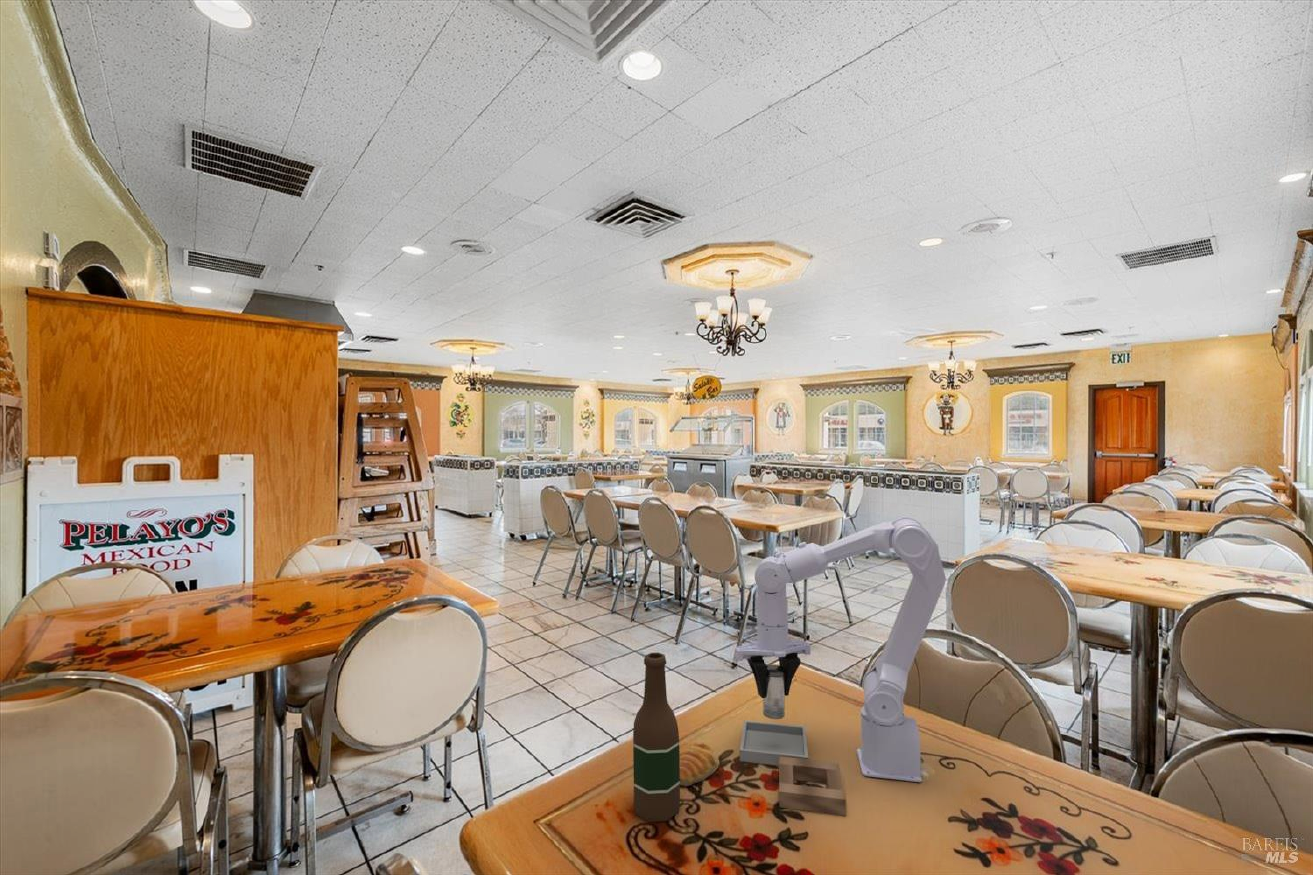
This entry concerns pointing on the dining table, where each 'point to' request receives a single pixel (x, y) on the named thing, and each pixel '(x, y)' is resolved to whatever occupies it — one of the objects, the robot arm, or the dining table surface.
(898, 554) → the robot arm
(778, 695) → the steel pin
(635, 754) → the beer bottle
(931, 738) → the dining table surface
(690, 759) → the pastry
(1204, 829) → the dining table surface
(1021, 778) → the dining table surface
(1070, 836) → the dining table surface
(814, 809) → the eye block
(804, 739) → the tray
